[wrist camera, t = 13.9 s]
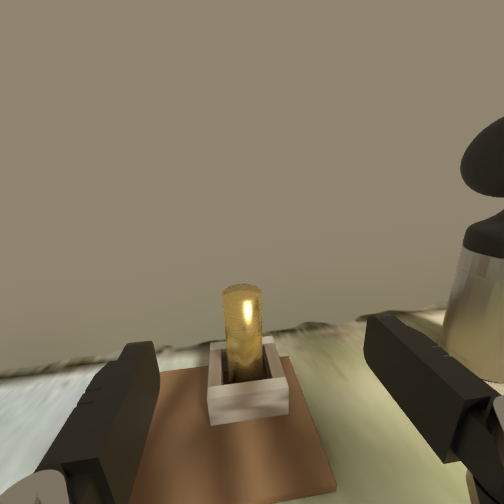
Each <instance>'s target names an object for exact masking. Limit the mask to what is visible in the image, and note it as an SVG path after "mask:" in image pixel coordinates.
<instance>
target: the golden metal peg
mask: <svg viewBox="0 0 504 504" xmlns="http://www.w3.org/2000/svg"><path fill="white" fill-rule="evenodd" d="M222 296H223V308H224V321H225V334H226V348H227V361H228V374H229V384H235V383H242V382H250V381H257V380H263V360H262V307H261V290H260V289H259V288H258V287H257V286H254V285H250V284H237V285H233V286H230V287H228V288H226V289H225V290H224V291H223V294H222Z"/></svg>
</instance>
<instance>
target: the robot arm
mask: <svg viewBox="0 0 504 504" xmlns="http://www.w3.org/2000/svg"><path fill="white" fill-rule="evenodd" d="M460 171H461V175H462V178H463V180H464V182H465V183H466V185H468V186H469V187H470V188H471V189H472V190H474V191H476V192H478V193H480V194H483V195H487V196H492V197H504V117H502V118H500V119H498V120H497V121H495V122H493V123H492V124H490V125H489V126H488V127H486V128H485V129H484V130H483V131H482V132H480V133H479V134H478V135H477V136H476V138H475V139H474V140H473V141H472V142H471V143H470V145H469V146H468V148H467V149H466V151H465V153H464V155H463V158H462V161H461V166H460ZM363 351H364V357H365V360H366V362H367V364H368V366H369V367H370V369H371V370H372V371H373V373H374V374H375V375H376V376H377V378H378V379H379V380H380V382H381V383H382V384H383V386H384V387H385V388H386V389H387V391H388V392H389V393H390V395H391V396H392V397H393V399H394V400H395V401H396V402H397V404H398V405H399V406H400V408H401V409H402V410H403V412H404V413H405V414H406V416H407V417H408V418H409V419H410V421H411V422H412V423H413V425H414V426H415V427H416V429H417V430H418V431H419V432H420V434H421V435H422V436H423V438H424V439H425V440H426V442H427V443H428V444H429V445H430V447H431V448H432V449H433V451H434V452H435V453H436V455H437V456H438V457H439V458H440V460H441V461H442V462H443V464H446V463H452V462H457V461H461V462H462V463H463V464H464V465H465V466H466V468H467V472H466V482H467V486H468V491H469V495H470V500H471V504H504V395H503V396H502V395H501V394H499V393H498V392H497V391H496V390H494V389H493V388H492V387H490V386H489V385H488V384H487V383H485V382H484V381H483V380H482V379H484V380H488V381H492V382H498V383H504V210H502V211H501V212H499V213H498V214H496V215H494V216H492V217H490V218H488V219H486V220H483V221H480V222H477V223H474V224H472V225H471V226H469V227H468V228H467V230H466V233H465V236H464V240H463V245H462V248H461V252H460V256H459V260H458V265H457V269H456V273H455V277H454V281H453V285H452V289H451V293H450V297H449V301H448V305H447V309H446V313H445V317H444V321H443V325H442V329H441V333H440V337H439V341H438V345H437V344H436V343H435V342H433V341H432V340H431V339H430V338H428V337H427V336H426V335H425V334H423V333H421V332H419V331H417V330H415V329H413V328H411V327H409V326H406V325H405V324H404V323H402V322H401V321H400V320H399V319H397V318H396V317H395V316H394V315H392V314H385V315H376V316H370V317H369V318H368V320H367V326H366V334H365V341H364V349H363ZM480 378H481V379H480ZM159 391H160V373H159V368H158V363H157V359H156V354H155V349H154V345H153V342H152V341H143V342H135V343H128V344H127V345H126V346H125V347H124V349H123V351H122V353H121V355H120V356H119V358H118V360H116V361H109V362H108V363H107V364H106V365H105V366H104V367H103V368H102V369H101V370H100V371H99V372H98V373H97V374H95V376H94V377H93V379H92V381H91V382H90V384H89V385H88V387H87V389H86V390H85V393H84V394H83V395H82V397H81V398H80V400H79V401H78V403H77V407H75V408H74V409H73V411H72V413H71V414H70V416H69V417H68V419H67V421H66V422H65V424H64V426H63V427H62V429H61V430H60V432H59V434H58V435H57V437H56V438H55V440H54V442H53V443H52V445H51V446H50V448H49V450H48V451H47V453H46V454H45V456H44V458H43V459H42V461H41V462H40V464H39V466H38V467H37V469H36V470H35V472H34V473H33V474H31V475H29V476H27V477H25V478H23V479H22V480H20V481H18V482H17V483H15V484H14V485H13V486H11V487H10V488H9V489H7V490H6V491H5V492H4V493H3V494H1V495H0V504H129V500H130V497H131V493H132V489H133V486H134V482H135V479H136V475H137V471H138V468H139V464H140V461H141V457H142V453H143V450H144V446H145V443H146V439H147V436H148V432H149V428H150V425H151V421H152V418H153V414H154V410H155V407H156V403H157V400H158V396H159Z"/></svg>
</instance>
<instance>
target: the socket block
mask: <svg viewBox="0 0 504 504" xmlns="http://www.w3.org/2000/svg"><path fill="white" fill-rule="evenodd" d="M262 360H263V380H257V381H250V382H242V383H235V384H229V374H228V361H227V348H226V341H224V342H215V343H210V359H209V366H204V367H196V368H188V369H180V370H172V371H164V372H161V373H160V391H159V396H158V400H157V403H156V407H155V410H154V414H153V418H152V421H151V425H150V428H149V432H148V436H147V439H146V443H145V446H144V450H143V453H142V457H141V461H140V464H139V468H138V471H137V475H136V479H135V482H134V486H133V489H132V493H131V497H130V500H129V504H272V503H277V502H282V501H288V500H293V499H298V498H303V497H308V496H314V495H319V494H324V493H329V492H334V491H336V487H337V483H336V481H335V478H334V475H333V473H332V470H331V467H330V465H329V462H328V459H327V457H326V454H325V452H324V449H323V446H322V444H321V441H320V438H319V436H318V433H317V430H316V428H315V425H314V422H313V420H312V417H311V414H310V412H309V409H308V406H307V404H306V401H305V398H304V396H303V393H302V391H301V388H300V385H299V383H298V380H297V377H296V375H295V372H294V369H293V367H292V364H291V361H290V359H289V356H284V357H279V356H278V352H277V349H276V346H275V343H274V340H273V337H272V336H267V337H262Z"/></svg>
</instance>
